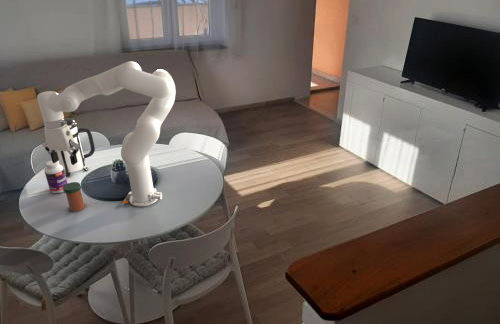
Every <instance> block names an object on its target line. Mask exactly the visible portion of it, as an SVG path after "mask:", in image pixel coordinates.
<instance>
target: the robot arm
mask: <svg viewBox="0 0 500 324" xmlns="http://www.w3.org/2000/svg"><path fill="white" fill-rule="evenodd" d="M123 89H125V90H128V91H130V92H134V93H136V94H140V95H143V96H146V97H149V98H151V100H150V101H149V103H148V105H147V106H146V108H145V109H144V111H143V112H142V113H141V115H140V116H139V117H138V119H137V121H136V124H135V128H134V130H133V131H131V132H129V133H127V134H126V135H125V136H124V137H123V141H122V144H121V149H120V157H121V160H122V161H123V162H124V163H125V164H126V170H127V176H128V180H129V185H130V191H132V196H131V197H130V199H129V201H128V202H129V203H130V205H131V206H134V207H137V208H138V207H139V208H141V207H148V206H152V205H154V203H156V202H157V201H158V200H160V201H161V200H162V199H163V193H162V192H158V191H157V188H155V187H154V182H153V177H152V170H151V164H150V163H151V162H150V157H149V153H150V152H151V150H152V149H153V147H154V146H155V145H156V143H157V141H158V140H159V138H160V135H161V127H162V125H163V123H164V121H165V120H166V119H167V117H168V115H169V113H170V111H171V110H172V108H173V107H174V104H175V100H176V96H177V95H176V94H177V93H176V92H177V91H176V89H177V88H176V84H175V81H174V79H173V77H172V75H171V74H170V73H169V72H168V71H166V70H165V69H157V70H155V71H154V72H152V73H149V72H146V71H143V70H142V68H141V66H140V65H139V63H137V62H135V61H126V62H123V63H121V64H119V65H117V66H115V67H112V68H110V69H108V70H106V71H103V72H101V73H98V74H96V75H93V76H90V77H87V78H84V79H82V80H79V81H76V82H75V83H73V84H71V85H69V86H67V87H65V89H63V91H62V92H61V93H58V92H56V91H53V90H47V91H42V92H40V93H38V94H37V96H36V100H37V103H38V108H39V110H40V113H41V118H42V121H43V125H44V128H43V129H44V131H43V132H44V137H45V141H43V142H42V143H41V145H42V146H43V147H44V149H45V151H47V153H48V155H50V158H51V160H52V162H53V163H56V162H57V161H58V160H59V158H58V154H57V151H67V152H68V153H69V154H70V155H71V156H70V160H71V164H72V165H74V164H76V163H77V162H78V161H77V156H76V154H77V152H78V151H79V148H80V146H79V145H78V144H77V143H75V142H74V139H73V136H72V133H71V131H70V128H69V127H68V125H66V124H67V121H65V119H64V118H65V115H64V113H72V112H75V111H76V110H77V109H78V108H79V107H80V104H81V103H82V102H84V101H85V100H88V99H90V98H93V97H95V96H99V95H101V96H102V95H103V96H110V95H113V94H116V93H117V92H119V91H121V90H123ZM73 147H74V148H75V149H74V148H73ZM55 150H57V151H55ZM70 150H72V151H73V152H71V151H70Z"/></svg>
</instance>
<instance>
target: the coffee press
mask: <svg viewBox="0 0 500 324" xmlns="http://www.w3.org/2000/svg"><path fill="white" fill-rule="evenodd" d="M64 119H65V121H67V124H66V125H68V127H69V128H70V131H71V133H72V136H73V139H74V142H75V143H77V144H78V145H79V146H80V148H79V151H78V152H77V154H76V156H77V161H78V162H77V163H76V164H74V165H72V164H71V160H70V156H71V155H70V154H69V153H68V152H67V151H57V150H55V151H57V154H58V158H59V160H58V161H59V164H60V165H62V166H63V168H64V172H65V176H66V178H70V176H71V173H76V172H79V171H81V170H83V171H84V172H88V170H89V167H88V166H87V165H86V159H87V158H90V157H91V156H93V155H94V153H95V151H96V147H95V142H94V137H93V134H92V132H91V130H90V129H89V128H87V127H80V128H78V127H77V126H78V124H77V122H76V121H75V120H74V119H73V118H69V117H64ZM83 132H85V133H86V134H87V137H88V143H89V146H90V150H89V152H88V153H86V154H84V152H83V148H82V143H81V139H80V133H83ZM73 148H74V147H73ZM74 149H75V148H74ZM70 151H71V152H73V151H72V150H70Z"/></svg>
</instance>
